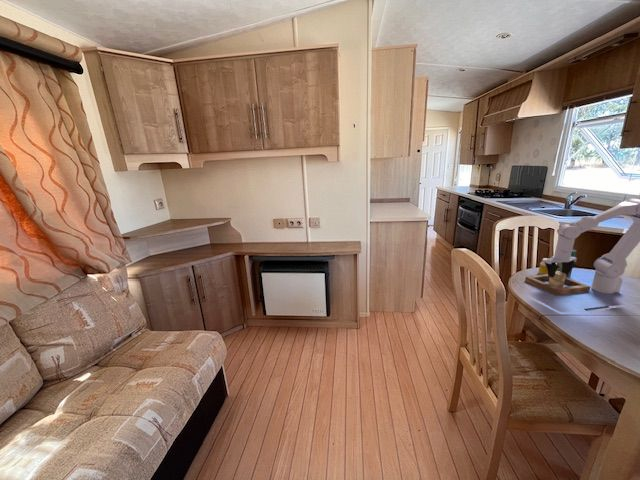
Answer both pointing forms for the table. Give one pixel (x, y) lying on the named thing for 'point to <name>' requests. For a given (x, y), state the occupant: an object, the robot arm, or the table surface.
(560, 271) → the can
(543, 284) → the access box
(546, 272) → the supplement bottle
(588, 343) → the table surface
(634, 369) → the table surface
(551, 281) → the beech block
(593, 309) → the place mat
